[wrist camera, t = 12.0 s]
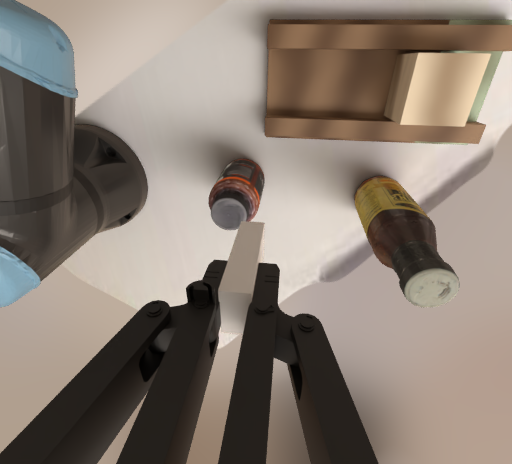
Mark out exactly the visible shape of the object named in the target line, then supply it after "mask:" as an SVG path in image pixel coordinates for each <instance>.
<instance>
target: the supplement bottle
mask: <svg viewBox="0 0 512 464" xmlns="http://www.w3.org/2000/svg"><path fill="white" fill-rule="evenodd" d="M263 187H264V174H263V172H262V170H261V168H260V167H259V166H258V165H257V164H256V163H255V162H253V161H251V160H248V159H237V160H234V161H232V162H231V163H229V164H228V165H227V167H226V168H225V169H224V171H223V172H222V174H221V176H220V177H219V179H218V180H217V182H216V184H215V185H214V187H213V188H212V190H211V192H210V195H209V207H210V210H211V217H212V219H213V221H214V222H215V224H216V225H218V226H219V227H220V228H222V229H225V230H236V229H239V227H240V224H241V221H246V222H249V221H251V220H252V219H253V218H254V217H255V215H256V213H257V211H258V208H259V204H260V200H261V196H262V191H263Z"/></svg>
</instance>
